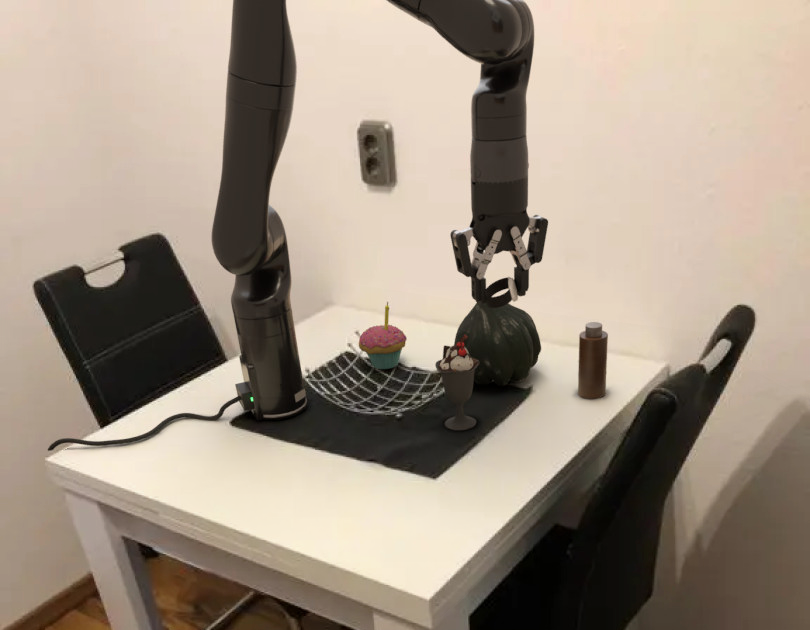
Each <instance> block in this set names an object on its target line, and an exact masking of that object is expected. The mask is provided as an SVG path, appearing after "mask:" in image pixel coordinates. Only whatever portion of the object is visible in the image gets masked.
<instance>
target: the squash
mask: <svg viewBox="0 0 810 630" xmlns="http://www.w3.org/2000/svg"><path fill="white" fill-rule="evenodd" d="M464 335H466V336H467V338H466V339H465V337H464ZM463 337H464V338H463ZM462 338H463V339H464V340H463V339H462ZM461 339H462V340H463V343H464V347H465V348H466V349H467V351H468V353H469V355H470V357H472V358H474V359H476V360H478V361H479V362H480V364H479V365H478V366H477V367H476V369H475V372H474V380H473V382H475V383H476V384H478V385H483V386H484V385H489V384H491V383H494V384H495V385H497V386H502V387H504V386H506V385H508V384H509V382H510V381H511V382H514V383H518V382H522V381H523V380H525V379H526V378H527V377H528V376H529V373H530V372H531V369H532V368H534V367H535V366H536V364H537V362H538V360H539V355H540V353H541V352H542V344H541V343H542V342H541V339H540V335H539V332H538V329H537V326H536V324H535V322H534V320H533V318H532V316H531V315H530V314H529V313H528V312H527V311H525V310H524V309H521V308H520V307H517V306H514V305H513V304H511V303H510V302H509V303H508V304H506V305H504V306H502V307H498V308H491V307H489V306H488V305H487V302H486V304H483V305H480V304H478V303H477V302H476V303H475V304H474V306H472V308H471V309H470V311H469V312H468V314H467V315H466V316H465V317H464V318H463V320H462V321H461V322H460V324H459V326H458V328H457V331H456V333H455V337H454V343H453V346H454V345H457V343H458V342H460V341H461ZM461 342H462V341H461Z"/></svg>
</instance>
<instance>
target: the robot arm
mask: <svg viewBox="0 0 810 630" xmlns="http://www.w3.org/2000/svg"><path fill="white" fill-rule="evenodd" d="M385 1H387V3H388V4H391V5H392V6H394V7H395V8H397V9H398V10H400V11H402V12H403V13H405V14H406V15H408V16H411V18H414V19H416V20H417V21H419V22H420V23H422V24H424V25H426V26H428V27H430V28H432V29H433V30H434V31H435V32H436V33H437V34H438V35H439V36H440V37H441V38H443V39H444V40H445V41H446V42H447V43H448V44H449V45H451V46H452V47H453V48H454V49H455V50H457V51H458V52H459V53H461V54H462V55H463V56H464V57H466V58H468V59H470V60H472V61H474V62H476V63H478V64H480V74H479V76H480V77H479V82H478V85H477V87H476V88H475V89H474V92H473V93H472V96H471V102H470V119H471V120H470V121H471V123H470V124H471V125H470V126H471V143H470V155H469V161H470V162H469V163H470V165H469V166H470V167H469V169H470V205H471V206H470V207H471V216H472V217H471V221H470V224H469V226H468V227H466V228H463V229H461V230H457V229H453V230H452V231H451V232H450V235H449V236H450V241H451V245H452V251H453V256H454V261H455V263H456V265H455V266H456V270H457V272H458V273H460V274H461V275H464V276H465V277H466V278H470V288H471V298H472V299H473V300H474V301H475V302H476V303H478V304H480V305H483V304H486V288H487V278H486V277H485V275H486V273H487V270H488V267H489V265H490V264H491V263H492V261H493V259H494V255H496V254H497V255H498V254H500V253H503V252H509V253H510V254H511V257H512V260H513V262H514V264H515V265H516V266H514V267H513V279H514V281H515V284H516V288H517V294H518V297H525V296H526V295H527V294H526V293H527V292H528V291H529V288H530V268H531V267H532V266H533V265H535V264H539V263H541V262H542V260H543V256H544V250H545V244H546V238H547V234H548V233H547V232H548V226H549V219H548V218H545V217H543V216H541V215H539V214H535V215H533V216H529V214H528V211H527V209H528V207H529V206H528V205H529V168H530V167H529V166H530V163H529V149H528V148H529V147H528V140H527V139H528V138H527V127H528V126H527V119H528V118H527V115H528V114H527V110H528V107H527V105H528V103H527V92H528V88H529V87H528V86H529V83H530V82H529V81H530V78H531V71H532V63H533V57H534V48H535V22H534V17H533V14H532V11H531V9H530V7H529V5H528V4H527V3H526V2H525V0H385ZM287 8H288V7H287V0H232V8H231V9H232V10H231V26H230V42H229V43H230V46H229V54H228V55H229V56H228V61H227V62H228V64H227V75H226V87H225V90H226V91H225V107H224V108H225V109H224V125H223V127H224V128H223V138H222V139H223V140H222V161H221V162H222V163H221V173H220V174H221V175H220V182H219V189H218V195H217V199H216V206H215V210H214V216H213V221H212V227H211V236H210V237H211V247H212V250H213V254H214V256H215V258H216V260H217V262H218V263H219V265H220V266H221V267H222V268H223V269H224V270H225V271H226V272H228V273H230V274H232V275H235V276H234V277H235V279H234V285H233V289H232V291H231V295H230V304H231V309H232V314H233V320H234V324H235V329H236V335H237V340H238V346H239V350H240V355H239V356H238V357H239V363H240V367H241V368H240V369H241V372H242V378H243V382H238V383H235V384H234V385H235V390H236V395H237V396H235V397H234V398H231V399H230V400H228V401H226V402H225V403H224V404H223V405H221V407H220V409H219V410H218V413H217V414H215V415H209V416H208V415H202V414H197V413H192V412H181V413H177V414H173V415H171V416H169V417H167V418H165V419H164V420H162V421H161V422H160V423H158V424H157V425H156V426H155V427H153V428H152V429H151V430H149V431H147V432H145V433H143V434H139V435H137V436H132V437H127V438H121V439H109V440H98V441H97V440H96V441H95V440H85V439H79V438H72V437H65V438H59V439H57V440H55V441H54V442H52V443H51V444H50V445H49V446H48V448H47V452H48V451H49V452H50V451H53V450H55V449H56V448H57V447H58V446H60V445H63V444H77V445H84V446H90V447H104V446H115V445H124V444H129V443H135V442H139V441H143V440H145V439H147V438H149V437H151V436H153V435H154V434H156V433H157V432H159V431H160V430H161V429H163V428H164V427H165V426H166V425H167V424H169V423H171V422H173V421H176V420H178V419H183V418H189V419H190V418H191V419H195V420H200V421H209V422H210V421H217V420H219V419H221V418H222V416H223V415H224V413H225V410H227V409H228V408H229V407H231V406H232V405H234V404H236V403H239V404H240V406H241V407H242V409H243V411H244V412H248V411H251V414H252V415H253V416H254V418H255V420H256V421H257V422H260V421H278V420H284V419H288V418H292V417H295V416H297V415H299V414H301V413H302V412H303V411H305V410H306V409H307V407H308V400H307V399H308V398H307V394H306V388H305V385H304V378H303V371H302V366H301V359H300V354H299V347H298V340H297V334H296V328H295V321H294V320H295V319H294V315H293V314H294V313H293V309H292V301H291V291H292V290H291V289H292V271H291V261H290V252H289V245H288V239H287V233H286V228H285V226H284V223H283V220H282V218H281V216H280V214H279V213H278V212H277V210H276V209H275V208H274V207H273V206H272V205H270V194H271V187H272V183H273V182H272V181H273V179H274V174H275V172H276V169H277V166H278V162H279V160H280V157H281V155H282V152H283V149H284V147H285V143H286V140H287V137H288V133H289V129H290V127H291V122H292V117H293V111H294V104H295V95H296V87H297V75H298V74H297V73H298V64H297V63H298V62H297V55H296V54H297V53H296V49H295V43H294V39H293V34H292V30H291V25H290V21H289V17H288V9H287ZM527 229H528V232H529V235H528V242H527V246H526V245H525V243H524V240H523V236H524V235H525V233H526V231H527ZM472 237H473V238H474V240H475V241H476V244H475V246H474V249H473V252H472V259H471V255H470V250H469V246H470V245H471V239H472Z"/></svg>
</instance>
